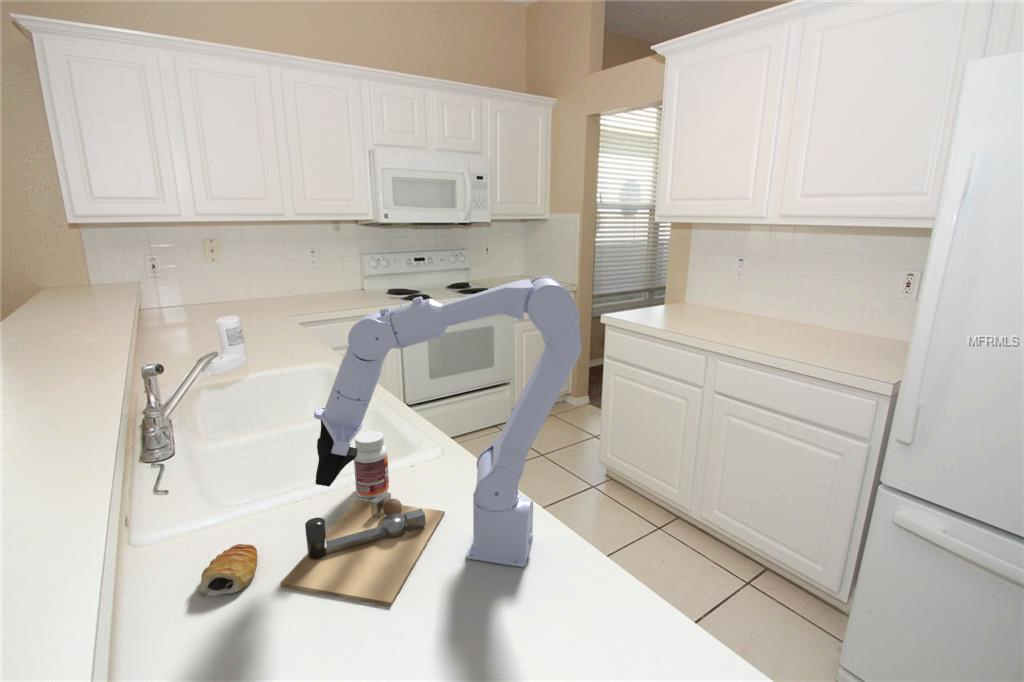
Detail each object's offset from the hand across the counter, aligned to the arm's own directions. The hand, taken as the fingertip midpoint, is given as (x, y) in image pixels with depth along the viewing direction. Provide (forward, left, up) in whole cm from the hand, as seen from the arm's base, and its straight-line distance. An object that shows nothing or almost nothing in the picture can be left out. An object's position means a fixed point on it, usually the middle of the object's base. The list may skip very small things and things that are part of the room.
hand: (323, 468), depth 76 cm
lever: (-5, -3, -13) cm, 14 cm away
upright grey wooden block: (-4, -10, -14) cm, 18 cm away
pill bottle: (+2, -17, -14) cm, 23 cm away
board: (-6, -2, -14) cm, 15 cm away
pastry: (+11, +9, -15) cm, 20 cm away
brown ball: (-6, -10, -12) cm, 17 cm away
